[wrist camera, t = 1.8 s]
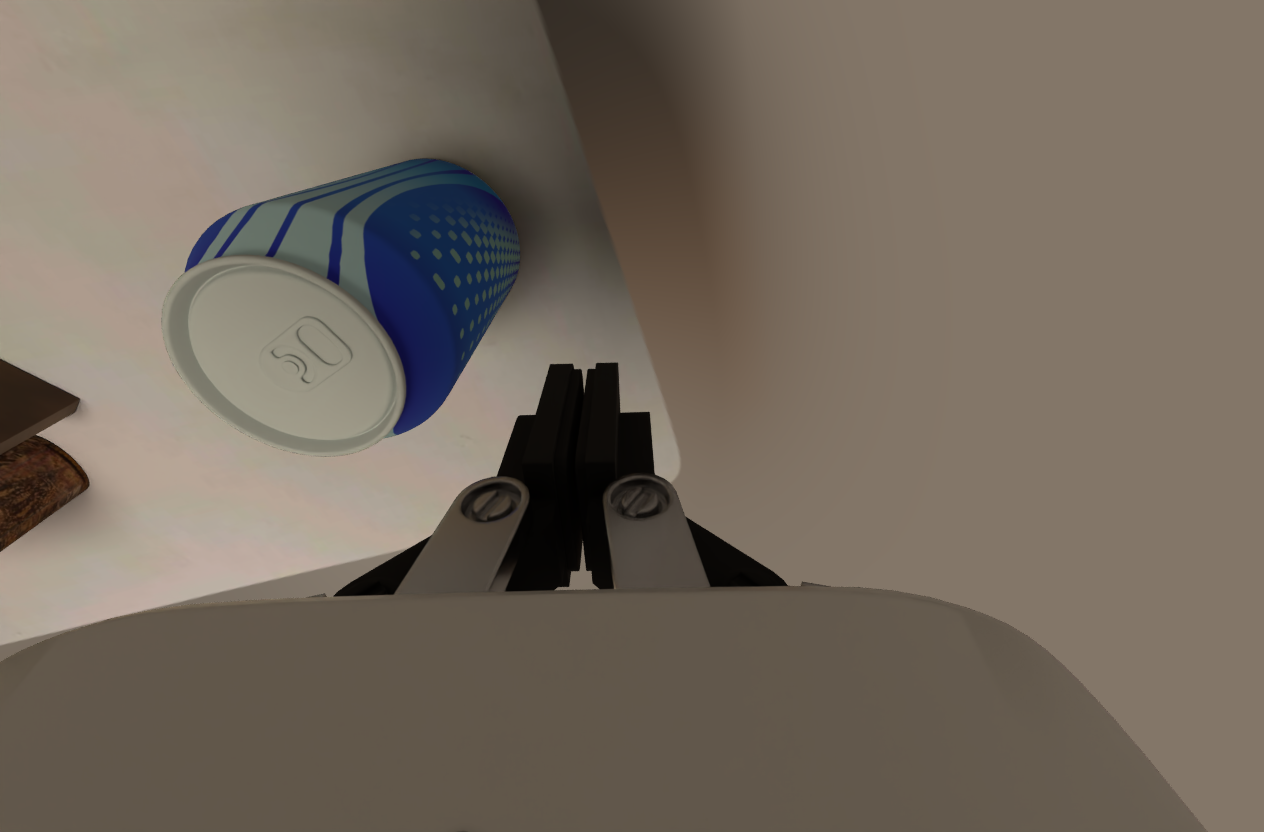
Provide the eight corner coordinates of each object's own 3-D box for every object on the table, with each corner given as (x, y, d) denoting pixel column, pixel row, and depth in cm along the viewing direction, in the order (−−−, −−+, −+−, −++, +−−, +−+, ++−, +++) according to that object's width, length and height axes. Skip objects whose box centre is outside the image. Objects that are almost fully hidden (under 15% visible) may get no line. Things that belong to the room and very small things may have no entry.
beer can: (524, 315, 30) (445, 488, 17) (386, 300, 29) (189, 467, 16) (524, 167, 26) (416, 241, 12) (360, 145, 25) (56, 198, 12)
